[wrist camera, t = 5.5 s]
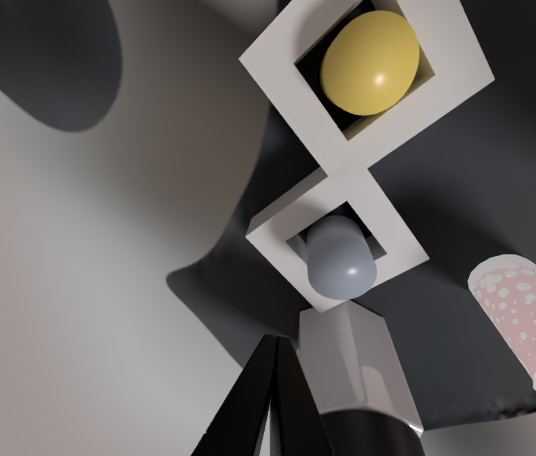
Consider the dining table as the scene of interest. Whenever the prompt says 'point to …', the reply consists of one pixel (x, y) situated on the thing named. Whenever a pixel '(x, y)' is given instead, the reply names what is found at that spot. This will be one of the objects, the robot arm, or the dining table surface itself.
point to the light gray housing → (319, 204)
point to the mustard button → (370, 63)
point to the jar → (358, 382)
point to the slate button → (339, 259)
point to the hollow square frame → (395, 117)
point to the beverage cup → (510, 303)
